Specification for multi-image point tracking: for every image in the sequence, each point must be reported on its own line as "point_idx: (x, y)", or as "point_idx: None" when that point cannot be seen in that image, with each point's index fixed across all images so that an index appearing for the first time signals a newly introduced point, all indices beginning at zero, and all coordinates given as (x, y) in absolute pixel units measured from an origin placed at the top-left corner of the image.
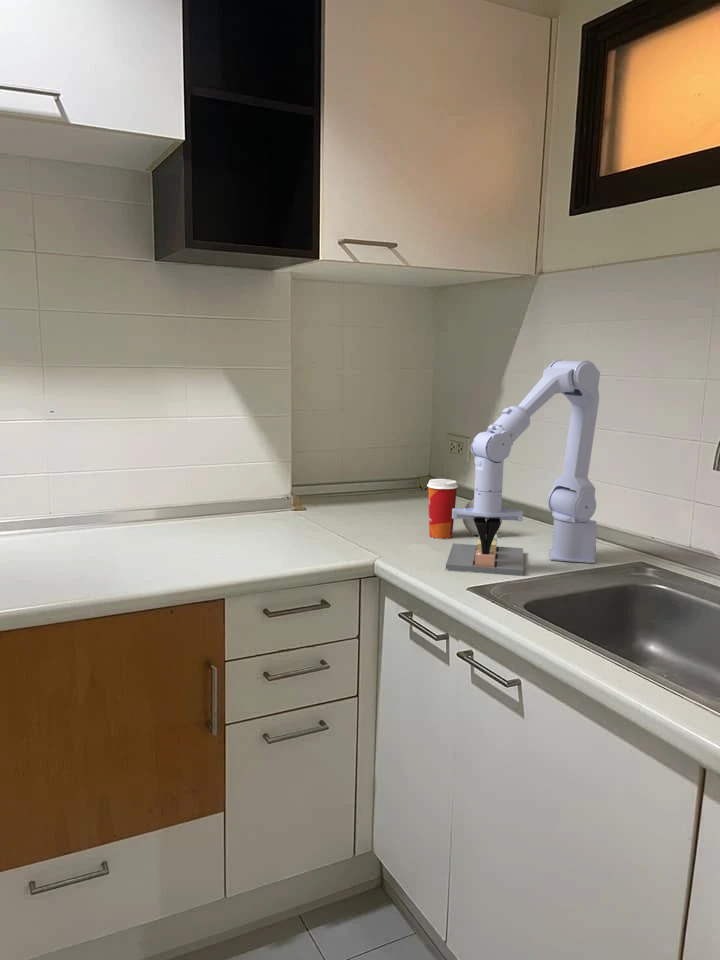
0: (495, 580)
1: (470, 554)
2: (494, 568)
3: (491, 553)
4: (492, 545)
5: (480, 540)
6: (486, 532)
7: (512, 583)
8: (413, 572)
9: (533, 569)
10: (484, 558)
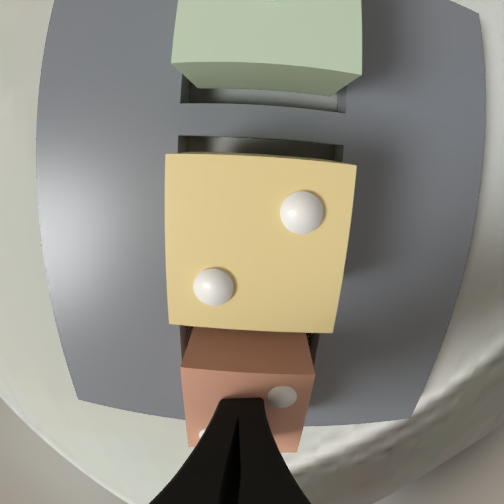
0: (286, 460)
1: (148, 202)
2: None
3: (283, 418)
4: (304, 331)
5: (197, 451)
6: (240, 502)
7: (339, 467)
8: (19, 400)
9: (471, 308)
10: None
